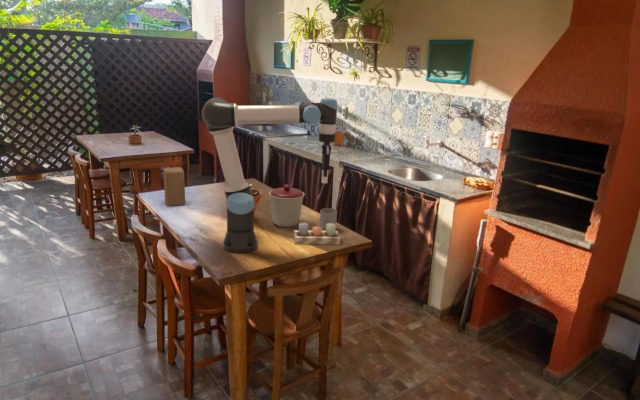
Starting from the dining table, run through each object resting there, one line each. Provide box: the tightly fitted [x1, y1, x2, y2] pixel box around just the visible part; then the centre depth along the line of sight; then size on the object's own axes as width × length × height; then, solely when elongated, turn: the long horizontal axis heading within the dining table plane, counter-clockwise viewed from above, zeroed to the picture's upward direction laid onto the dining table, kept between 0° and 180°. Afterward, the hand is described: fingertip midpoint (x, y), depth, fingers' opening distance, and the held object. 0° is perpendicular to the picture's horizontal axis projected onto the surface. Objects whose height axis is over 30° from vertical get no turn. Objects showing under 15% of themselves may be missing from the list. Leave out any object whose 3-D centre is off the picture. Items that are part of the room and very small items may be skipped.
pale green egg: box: [326, 223, 337, 236], centre depth 213 cm, size 4×4×5 cm
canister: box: [268, 184, 305, 228], centre depth 230 cm, size 18×18×21 cm
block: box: [163, 166, 186, 207], centre depth 253 cm, size 10×10×20 cm
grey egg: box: [298, 222, 309, 236], centre depth 211 cm, size 4×4×5 cm
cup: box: [319, 207, 338, 231], centre depth 227 cm, size 8×8×10 cm
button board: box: [293, 229, 341, 245], centre depth 213 cm, size 21×10×3 cm, turn 96°
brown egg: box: [311, 225, 322, 236], centre depth 212 cm, size 4×4×5 cm
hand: (324, 182), depth 213 cm, fingers closed
